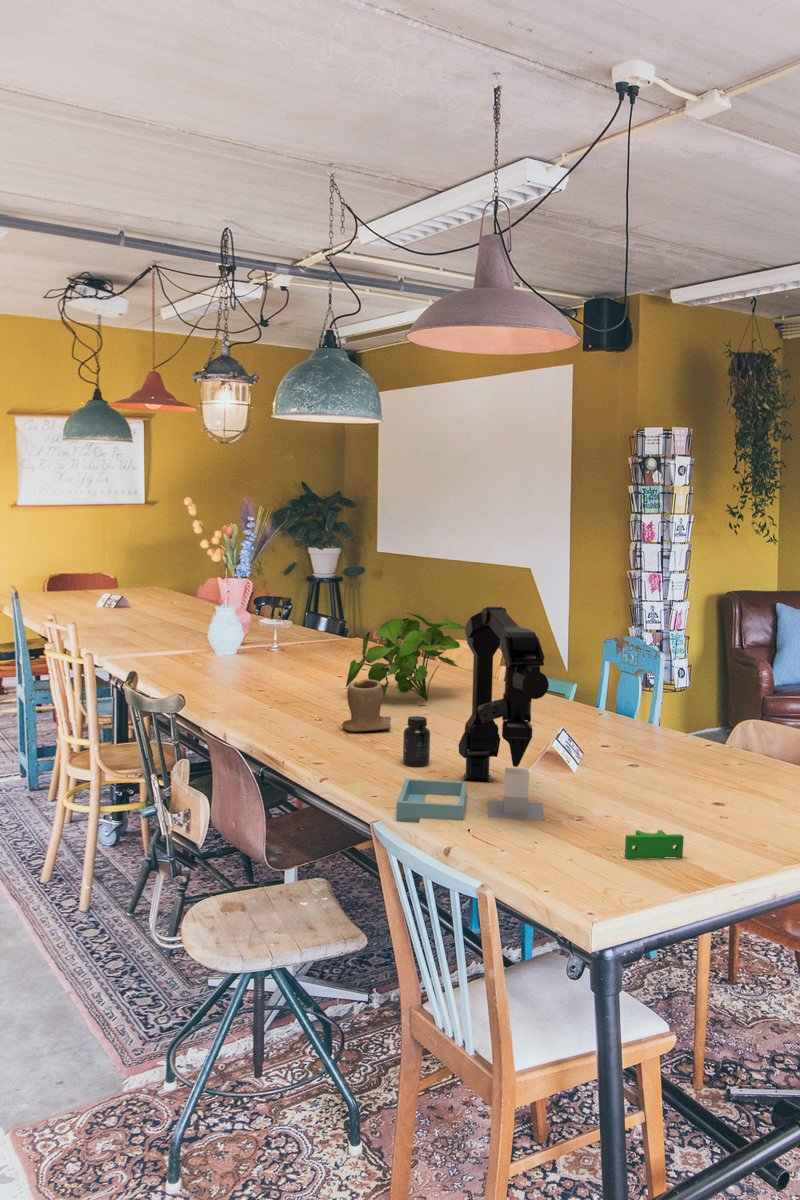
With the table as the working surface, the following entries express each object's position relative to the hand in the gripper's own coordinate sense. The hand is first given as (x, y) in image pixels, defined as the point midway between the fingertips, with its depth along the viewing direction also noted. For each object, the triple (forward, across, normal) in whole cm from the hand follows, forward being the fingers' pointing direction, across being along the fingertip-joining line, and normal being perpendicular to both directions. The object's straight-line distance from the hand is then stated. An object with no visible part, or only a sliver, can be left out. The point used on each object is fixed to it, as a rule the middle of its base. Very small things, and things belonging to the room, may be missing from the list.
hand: (515, 760), depth 212 cm
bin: (+12, 0, -18) cm, 21 cm away
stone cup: (+12, -71, -42) cm, 83 cm away
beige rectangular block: (+11, 0, 0) cm, 11 cm away
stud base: (+12, 0, 0) cm, 12 cm away
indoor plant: (+13, -121, -36) cm, 127 cm away
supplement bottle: (+12, -37, -25) cm, 46 cm away
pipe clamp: (+12, +20, +27) cm, 36 cm away
